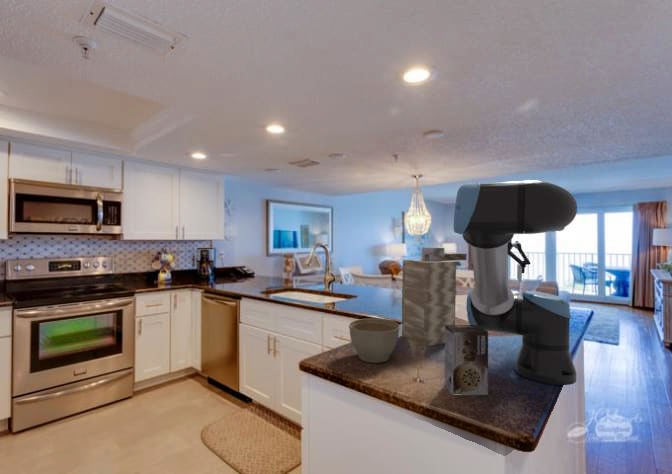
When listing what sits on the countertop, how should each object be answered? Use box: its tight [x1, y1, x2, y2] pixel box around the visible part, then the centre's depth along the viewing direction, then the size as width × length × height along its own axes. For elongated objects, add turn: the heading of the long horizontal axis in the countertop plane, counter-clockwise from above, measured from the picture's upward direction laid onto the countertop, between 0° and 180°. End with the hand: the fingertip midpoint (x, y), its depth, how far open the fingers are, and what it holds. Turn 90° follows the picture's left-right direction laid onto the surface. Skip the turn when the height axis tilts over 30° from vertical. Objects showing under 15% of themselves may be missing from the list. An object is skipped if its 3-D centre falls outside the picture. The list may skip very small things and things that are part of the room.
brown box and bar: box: [421, 246, 468, 261], centre depth 137 cm, size 20×6×5 cm, turn 118°
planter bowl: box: [348, 318, 401, 364], centre depth 111 cm, size 16×16×11 cm
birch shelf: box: [401, 258, 461, 347], centre depth 133 cm, size 16×14×30 cm
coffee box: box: [444, 324, 489, 396], centre depth 89 cm, size 9×6×16 cm
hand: (500, 281), depth 133 cm, fingers open, 13 cm apart
